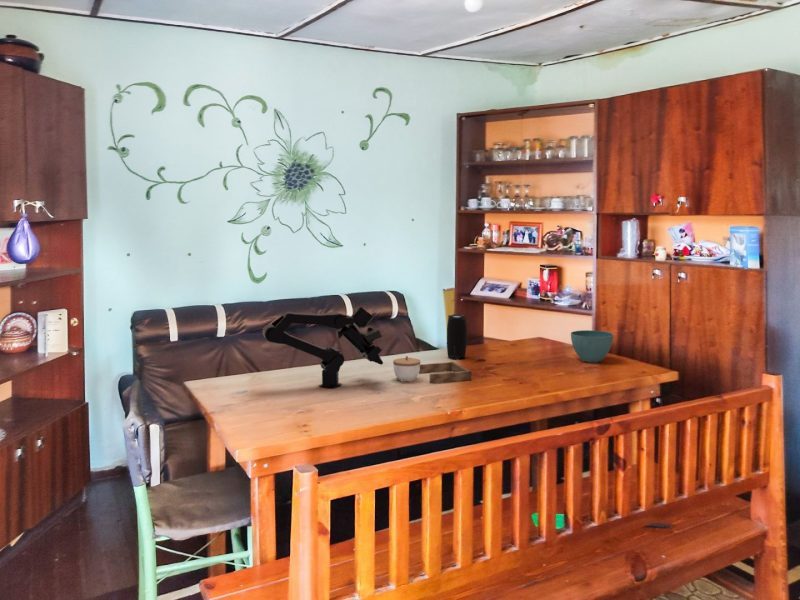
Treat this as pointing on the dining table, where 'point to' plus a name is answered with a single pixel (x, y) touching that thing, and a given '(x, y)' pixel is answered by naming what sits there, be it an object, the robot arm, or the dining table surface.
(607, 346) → the teal round bowl
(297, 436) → the dining table surface
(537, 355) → the dining table surface
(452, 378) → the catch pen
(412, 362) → the lidded jar
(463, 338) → the portable speaker
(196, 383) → the dining table surface
